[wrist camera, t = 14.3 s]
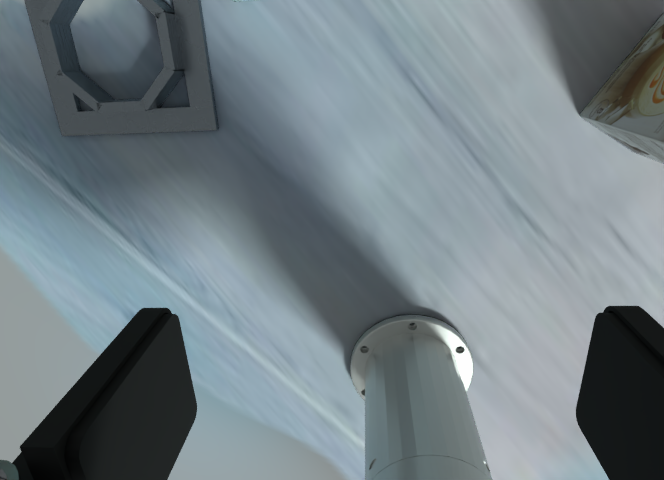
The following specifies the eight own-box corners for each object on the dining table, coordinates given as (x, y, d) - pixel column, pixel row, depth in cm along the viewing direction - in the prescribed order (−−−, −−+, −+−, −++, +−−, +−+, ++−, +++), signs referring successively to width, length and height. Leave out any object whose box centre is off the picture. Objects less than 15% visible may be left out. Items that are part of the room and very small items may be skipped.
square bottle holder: (218, 129, 39) (209, 133, 36) (66, 134, 40) (47, 140, 37) (191, -61, 33) (179, -70, 31) (16, -49, 34) (-9, -56, 32)
